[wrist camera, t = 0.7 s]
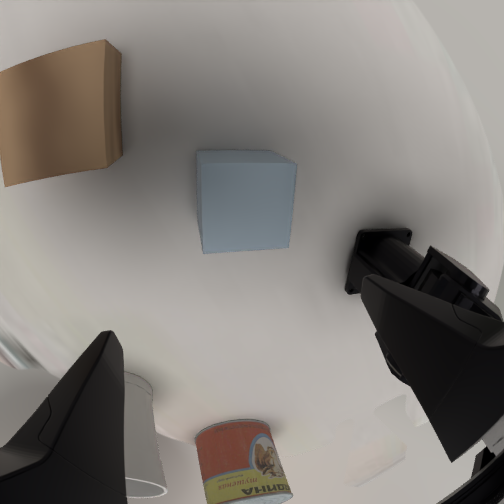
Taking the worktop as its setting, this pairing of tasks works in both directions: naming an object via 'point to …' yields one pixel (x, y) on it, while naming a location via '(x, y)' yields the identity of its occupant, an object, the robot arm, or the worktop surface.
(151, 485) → the cup
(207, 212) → the cube
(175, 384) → the worktop surface
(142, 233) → the worktop surface
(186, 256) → the worktop surface
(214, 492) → the canned food
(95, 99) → the walnut block
